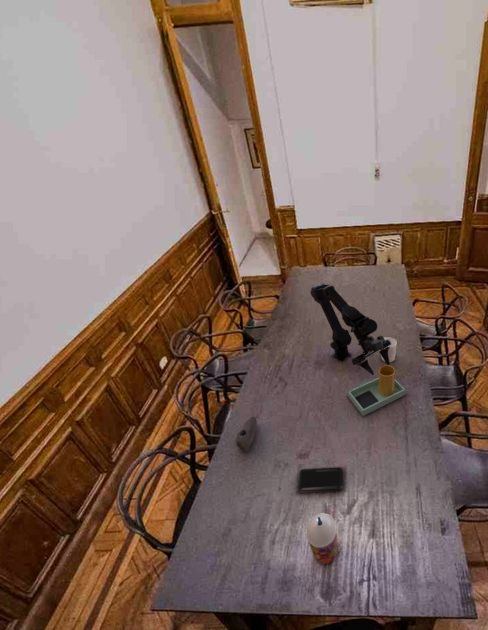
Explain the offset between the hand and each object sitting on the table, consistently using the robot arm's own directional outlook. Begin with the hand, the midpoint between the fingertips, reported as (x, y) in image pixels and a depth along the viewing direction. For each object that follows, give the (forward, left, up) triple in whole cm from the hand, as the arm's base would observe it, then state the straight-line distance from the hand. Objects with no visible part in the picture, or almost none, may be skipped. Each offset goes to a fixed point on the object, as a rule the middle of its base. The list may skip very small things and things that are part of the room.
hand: (381, 369), depth 146 cm
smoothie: (+25, -63, -11) cm, 68 cm away
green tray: (+2, -6, -11) cm, 12 cm away
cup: (+3, -1, -10) cm, 11 cm away
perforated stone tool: (-25, -53, -11) cm, 59 cm away
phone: (+9, -48, -11) cm, 50 cm away
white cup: (-8, +18, -11) cm, 23 cm away
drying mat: (0, -10, -10) cm, 14 cm away
